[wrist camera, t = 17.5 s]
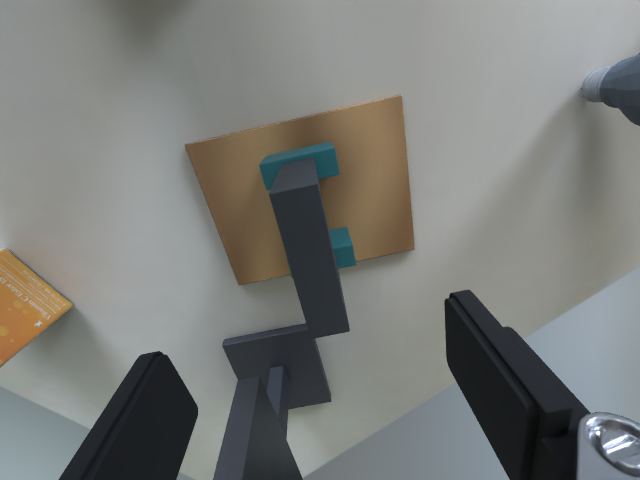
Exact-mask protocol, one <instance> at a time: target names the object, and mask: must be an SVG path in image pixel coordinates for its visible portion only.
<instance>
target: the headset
mask: <svg viewBox="0 0 640 480" xmlns="http://www.w3.org/2000/svg"><path fill="white" fill-rule="evenodd" d="M259 167H260V170H261V174H262V177H263V181H264V184H265V187H266V190H267V191H268V190H270V192H269V197H270V201H271V204H272V207H273V211H274V214H275V218H276V221H277V225H278V228H279V231H280V235H281V238H282V242H283V245H284V248H285V252H286V255H287V262H288V265H289V269H290V272H291V275H292V278H293V279H294V283H295V286H296V289H297V293H298V296H299V300H300V303H301V306H302V310H303V313H304V317H305V320H306V323H307V327H308V330H309V334H310V337H311V339H313V338H318V337H324V336H329V335H334V334H339V333H344V332H349V331H350V328H349V323H348V318H347V313H346V308H345V303H344V297H343V292H342V287H341V282H340V277H339V272H338V269H339V268H344V267H348V266H353V265H356V259H355V254H354V248H353V244H352V241H351V238H350V235H349V232H348V229H347V227H343V228H338V229H333V230H329V228H328V223H327V219H326V214H325V210H324V205H323V200H322V196H321V190H320V184H319V179H323V178H327V177H332V176H336V175H340V172H339V167H338V161H337V156H336V150H335V147H334V146H333V144H332V143H331V142H326V143H321V144H317V145H312V146H308V147H304V148H299V149H295V150H290V151H286V152H282V153H277V154H273V155H268V156H266V157H265V158H264V159H263V160H262V162H261V163H260V164H259Z"/></svg>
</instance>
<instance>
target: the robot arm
mask: <svg viewBox="0 0 640 480" xmlns="http://www.w3.org/2000/svg"><path fill="white" fill-rule="evenodd" d="M445 328H446V357H447V363H448V366H449V368H450V370H451V372H452V374H453V376H454V378H455V380H456V381H457V383H458V385H459V387H460V389H461V391H462V393H463V394H464V396H465V398H466V400H467V402H468V403H469V405H470V407H471V409H472V411H473V413H474V414H475V416H476V418H477V420H478V422H479V424H480V426H481V427H482V429H483V431H484V433H485V435H486V437H487V438H488V440H489V442H490V444H491V446H492V448H493V449H494V451H495V453H496V455H497V457H498V459H499V460H500V462H501V464H502V466H503V468H504V470H505V471H506V473H507V475H508V477H509V479H510V480H640V424H639V423H637V422H635V421H633V420H630V419H628V418H626V417H623V416H620V415H616V414H612V413H607V412H595V413H590V412H589V411H588V410H587V409H586V408H585V407H584V405H583V404H582V403H581V402H580V401H579V400H578V399H577V398H576V397H575V396H574V394H573V393H572V392H571V391H570V390H569V389H568V388H567V387H566V386H565V385H564V384H563V382H562V381H561V380H560V379H559V378H558V377H557V376H556V375H555V374H554V373H553V372H552V370H550V368H549V367H548V366H547V365H546V364H545V363H544V362H543V361H542V360H541V359H540V357H539V356H538V355H537V354H536V353H535V352H534V351H533V350H532V349H531V348H530V347H529V345H528V344H527V343H526V342H525V341H524V340H523V339H522V338H521V337H520V336H519V335H518V333H517V332H516V331H514V330H513V329H512V328H510V327H502V326H501V324H500V323H499V322H498V321H497V320H496V319H495V318H494V316H493V315H492V314H491V313H490V312H489V311H488V310H487V309H486V307H485V306H484V305H483V304H482V303H481V302H480V301H479V299H478V298H477V297H476V296H475V295H474V294H473V293H472V292H471V291H470V290H464V291H459V292H454V293H450V295H449V298H448V299H445ZM197 416H198V407H197V404H196V403H195V401H194V399H193V398H192V396H191V394H190V393H189V391H188V389H187V387H186V386H185V384H184V382H183V381H182V379H181V377H180V376H179V374H178V372H177V371H176V369H175V367H174V366H173V364H172V362H171V360H170V359H169V357H168V356H167V355H164V354H163V353H162V352H160V351H157V352H152V353H147V354H142V355H140V356H139V357H138V358H137V360H136V361H135V363H134V364H133V366H132V368H131V369H130V371H129V372H128V374H127V375H126V377H125V378H124V380H123V381H122V383H121V384H120V386H119V388H118V389H117V391H116V392H115V394H114V395H113V397H112V398H111V400H110V401H109V403H108V404H107V406H106V408H105V409H104V411H103V412H102V414H101V415H100V417H99V418H98V420H97V421H96V423H95V425H94V426H93V428H92V429H91V431H90V432H89V434H88V435H87V437H86V438H85V440H84V441H83V443H82V445H81V446H80V448H79V449H78V451H77V452H76V454H75V455H74V457H73V458H72V460H71V461H70V463H69V465H68V466H67V468H66V469H65V471H64V472H63V474H62V475H61V477H60V479H59V480H176V478H177V476H178V473H179V470H180V467H181V464H182V461H183V458H184V455H185V452H186V449H187V446H188V443H189V440H190V437H191V434H192V431H193V428H194V426H195V423H196V420H197Z"/></svg>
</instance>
